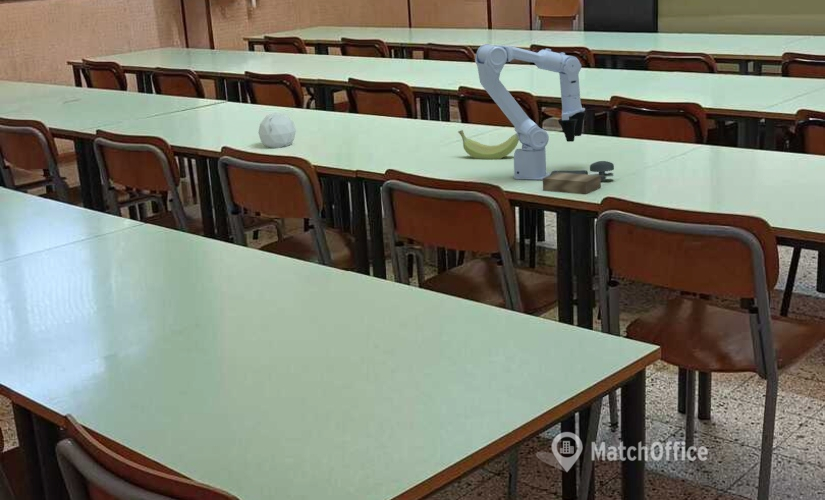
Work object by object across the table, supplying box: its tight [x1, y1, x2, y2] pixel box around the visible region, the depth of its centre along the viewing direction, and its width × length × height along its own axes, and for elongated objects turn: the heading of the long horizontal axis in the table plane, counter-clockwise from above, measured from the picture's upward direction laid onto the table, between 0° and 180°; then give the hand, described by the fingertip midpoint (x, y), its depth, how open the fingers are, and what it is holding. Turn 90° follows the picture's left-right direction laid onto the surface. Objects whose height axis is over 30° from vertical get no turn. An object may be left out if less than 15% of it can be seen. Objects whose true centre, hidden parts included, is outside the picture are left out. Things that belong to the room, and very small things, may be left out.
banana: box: [457, 129, 520, 160], centre depth 357 cm, size 14×6×20 cm
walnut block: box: [542, 172, 602, 195], centre depth 308 cm, size 14×9×4 cm, turn 54°
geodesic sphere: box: [258, 112, 297, 149], centre depth 402 cm, size 15×14×14 cm
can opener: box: [549, 160, 615, 181], centre depth 318 cm, size 19×5×6 cm, turn 74°
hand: (574, 138), depth 328 cm, fingers open, 7 cm apart
